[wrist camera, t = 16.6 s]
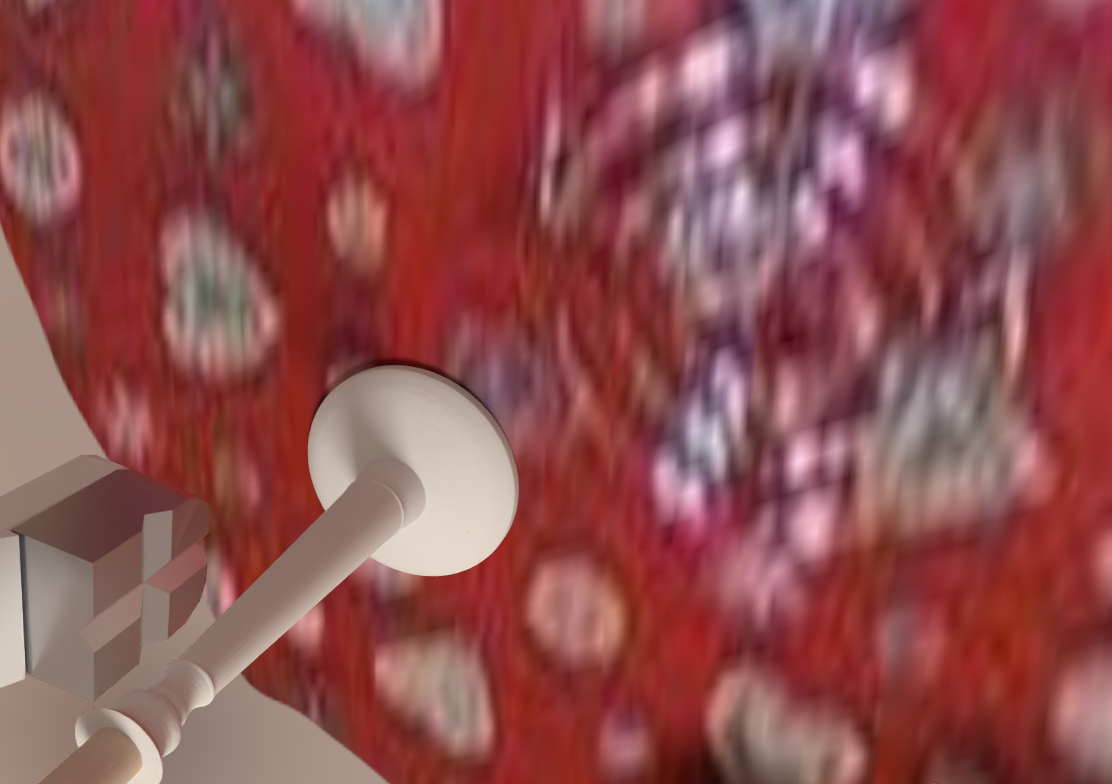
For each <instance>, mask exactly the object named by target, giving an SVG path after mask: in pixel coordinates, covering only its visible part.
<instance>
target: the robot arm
mask: <svg viewBox="0 0 1112 784" xmlns="http://www.w3.org/2000/svg"><path fill="white" fill-rule="evenodd" d="M208 532H209V506H208V505H207V504H206V503H205V502H204V501H203V500H202V498H200V497H198V496H195V495H193V494H190V493H188V492H186V491H183V490H181V489H178V488H176V487H174V486H171V485H169V484H166V483H164V482H162V481H159V480H157V479H154V478H152V477H149V476H147V475H145V474H142V473H140V472H137V471H135V470H133V469H128V468H126V467H124V466H121V465H119V464H116V463H114V462H112V461H109V460H107V459H104V458H101V457H99V456H97V455H80V456H78V457H76V458H74V459H73V460H71V461H69V462H67V463H65V464H63V465H61V466H59V467H57V468H55V469H53V470H51V471H49V472H47V473H45V474H43V475H42V476H40V477H38V478H36V479H34V480H32V481H30V482H28V483H26V484H24V485H22V486H20V487H18V488H16V489H15V490H13V491H11V492H9V493H7V494H5V495H3V496H1V497H0V688H1V687H3V686H6V685H9V684H11V683H14V682H17V681H20V680H23V679H25V678H26V674H27V675H30V676H32V677H35V678H37V679H39V680H42V681H44V682H46V683H49V684H51V685H54V686H56V687H59V688H61V689H63V690H66V691H68V692H71V693H73V694H76V695H78V696H80V697H83V698H85V699H88V700H90V701H92V702H94V701H95V700H97V699H98V698H99V697H100V696H101V695H102V694H104V693H105V692H106V691H107V690H109V689H110V688H111V687H112V686H113V685H114V684H116V683H117V682H118V681H119V680H120V679H121V678H122V677H124V676H125V675H126V674H127V673H129V672H130V671H131V670H132V669H133V668H134V667H136V666H137V665H138V664H139V660H140V654H141V647H142V646H144V645H148V644H151V643H155V642H158V641H162V640H166V639H168V638H169V637H170V636H172V635H173V634H174V633H175V632H176V631H177V630H178V629H179V628H180V627H182V626H183V625H184V624H185V623H186V621H187V620H188V618H189V617H190V615H191V614H192V612H193V611H194V609H195V607H196V606H197V604H198V603H199V601H200V599H201V596H202V592H203V589H204V586H205V583H206V574H207V562H206V560H205V558H204V556H203V554H202V552H201V550H200V548H199V546H198V544H197V542H198V541H199V540H200V539H201V538H202V537H203V536H205V535H206V534H207V533H208ZM930 784H939V783H936V782H933V781H932V782H931V783H930Z"/></svg>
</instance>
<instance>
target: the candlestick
mask: <svg viewBox="0 0 1112 784" xmlns="http://www.w3.org/2000/svg"><path fill="white" fill-rule="evenodd" d="M308 461H309V469H310V474H311V478H312V482H313V485H314V488H315V491H316V493H317V495H318V498H319V500H320V502H321V504H322V506H323V508H324V509H325V512H324V513H323V514H322V515H321V516H320V517H319V518H318V519H317V520H316V521H315V522H314V523H313V524H312V525H311V526H310V527H309V528H308V529H307V530H306V531H305V532H304V533H303V534H302V535H301V536H300V537H299V538H298V539H297V540H296V541H295V542H294V543H293V544H292V545H291V546H290V547H289V548H288V549H287V550H286V551H285V552H284V553H283V554H282V555H281V556H280V557H279V558H278V559H277V560H276V561H275V562H274V563H273V564H272V565H271V566H270V567H269V568H268V569H267V570H266V571H265V572H264V573H263V574H262V575H261V576H260V577H259V578H258V579H257V580H256V581H255V582H254V583H253V584H252V585H251V586H250V587H249V588H248V589H247V590H246V591H245V592H244V593H243V594H242V595H241V596H240V597H239V598H238V599H237V600H236V601H235V602H234V603H233V604H232V605H231V606H230V607H229V608H228V609H227V610H226V611H225V612H224V613H223V614H222V615H221V616H220V617H219V618H218V619H217V620H216V621H215V622H214V623H213V624H212V625H211V626H210V627H209V628H208V629H207V630H206V631H205V633H203V635H201V636H200V637H199V638H198V639H197V640H196V641H195V642H194V643H193V645H191V646H190V647H189V648H188V649H187V650H186V651H185V652H184V653H183V655H181V656H180V657H179V658H178V659H177V660H174V661H172V662H171V663H170V664H169V666H168V667H167V670H166V676H165V678H164V680H163V681H161V682H160V683H159V684H157V685H154V686H152V687H149V688H148V689H147V690H134V691H130V692H128V693H126V694H125V695H123V696H122V697H121V698H120V699H119V700H118V701H117V703H116V704H115V706H114V708H112V709H109V708H102V707H97V708H91V709H88V710H86V711H84V712H83V713H82V714H81V715H80V716H79V717H78V719H77V722H76V724H75V737H76V742H77V745H78V749H77V750H76V751H75V752H74V753H73V754H71V755H70V756H69V757H68V758H67V759H66V760H65V761H64V762H63V763H61V764H60V765H59V766H58V767H57V768H56V769H55V770H54V771H52V772H51V773H50V774H49V775H48V776H47V777H46V778H45V779H44V780H42V781H41V782H40V783H39V784H159V783H160V781H161V778H162V773H163V766H162V760H161V759H162V757H163V756H165V755H167V754H169V753H170V752H172V751H173V750H174V749H175V748H176V747H177V745H178V744H179V742H180V739H181V736H182V725H183V724H184V723H185V721H186V718H187V716H188V714H189V712H191V711H192V710H193V709H194V708H196V707H203V706H206V705H208V704H209V703H210V702H211V701H212V700H213V698H214V695H216V694H217V693H218V692H219V691H220V690H221V689H222V688H224V687H225V686H226V685H227V684H228V683H229V682H230V681H231V680H232V679H234V678H235V677H236V676H237V675H238V674H239V673H240V672H241V671H243V670H244V669H245V668H246V667H247V666H248V665H249V664H250V663H251V662H253V661H254V660H255V659H256V658H257V657H258V656H259V655H260V654H261V653H263V652H264V651H265V650H266V649H267V648H268V647H269V646H270V645H272V644H273V643H274V642H275V641H276V640H277V639H278V638H279V637H280V636H282V635H283V634H284V633H285V632H286V631H287V630H288V629H289V628H290V627H292V626H293V625H294V624H295V623H296V622H297V621H298V620H299V619H300V618H302V617H303V616H304V615H305V614H306V613H307V612H308V611H309V610H310V609H312V608H313V607H314V606H315V605H316V604H317V603H318V602H319V601H321V600H322V599H323V598H324V597H325V596H326V595H327V594H328V593H329V592H331V591H332V590H333V589H334V588H335V587H336V586H337V585H338V584H339V583H341V582H342V581H343V580H344V579H345V578H346V577H347V576H348V575H349V574H351V573H352V572H353V571H354V570H355V569H356V568H357V567H358V566H359V565H361V564H362V563H363V562H364V561H365V560H366V559H367V558H368V557H371V558H373V559H375V560H376V561H378V562H380V563H382V564H384V565H386V566H389V567H391V568H394V569H396V570H399V571H402V572H406V573H410V574H415V575H423V576H442V575H450V574H454V573H458V572H461V571H464V570H467V569H469V568H471V567H473V566H475V565H477V564H478V563H480V562H481V561H483V560H484V559H486V558H487V557H488V556H489V555H490V554H491V553H492V552H493V551H494V550H495V549H496V548H497V547H498V546H499V544H500V543H501V542H502V540H503V539H504V537H505V536H506V534H507V533H508V531H509V529H510V527H511V525H512V522H513V520H514V517H515V514H516V510H517V504H518V495H519V483H518V473H517V468H516V463H515V460H514V457H513V453H512V451H511V448H510V446H509V443H508V441H507V439H506V437H505V435H504V433H503V432H502V430H501V428H500V427H499V425H498V424H497V422H496V421H495V419H494V418H493V417H492V415H491V414H490V413H489V412H488V411H487V409H486V408H485V407H484V406H483V405H482V404H481V403H480V402H479V401H478V400H477V399H476V398H475V397H473V396H472V395H471V394H470V393H469V392H468V391H466V390H465V389H463V388H462V387H461V386H459V385H458V384H456V383H454V382H453V381H451V380H449V379H447V378H445V377H443V376H441V375H439V374H436V373H434V372H431V371H428V370H425V369H421V368H416V367H411V366H403V365H388V366H379V367H374V368H370V369H367V370H364V371H362V372H359V373H357V374H355V375H353V376H351V377H350V378H348V379H347V380H345V381H344V382H342V383H341V384H339V385H338V386H337V387H336V388H334V389H333V390H332V391H331V392H330V393H329V395H328V396H327V397H326V398H325V400H324V401H323V402H322V404H321V405H320V407H319V409H318V411H317V413H316V415H315V417H314V420H313V423H312V425H311V430H310V434H309V441H308Z"/></svg>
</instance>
